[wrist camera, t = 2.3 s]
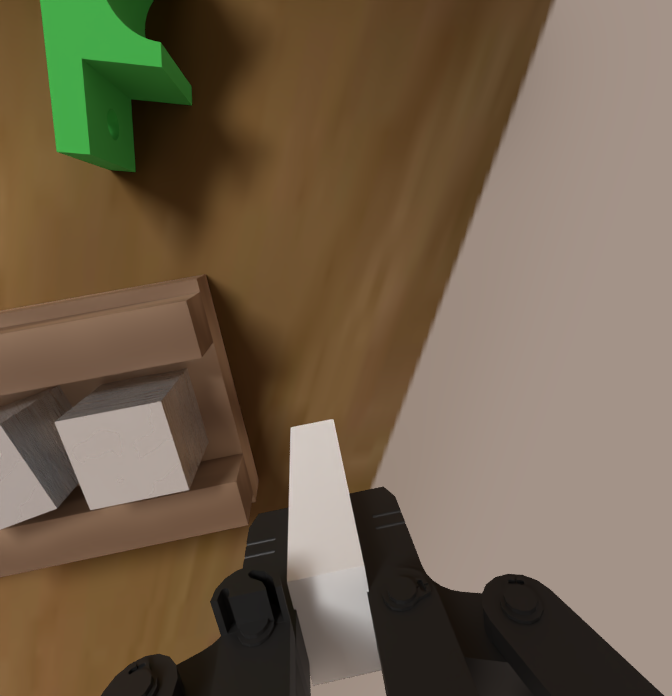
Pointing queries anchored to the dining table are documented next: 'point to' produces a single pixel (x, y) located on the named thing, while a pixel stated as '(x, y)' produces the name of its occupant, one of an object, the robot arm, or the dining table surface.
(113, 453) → the chip
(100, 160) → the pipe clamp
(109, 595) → the dining table surface
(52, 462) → the chip
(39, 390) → the slot board
